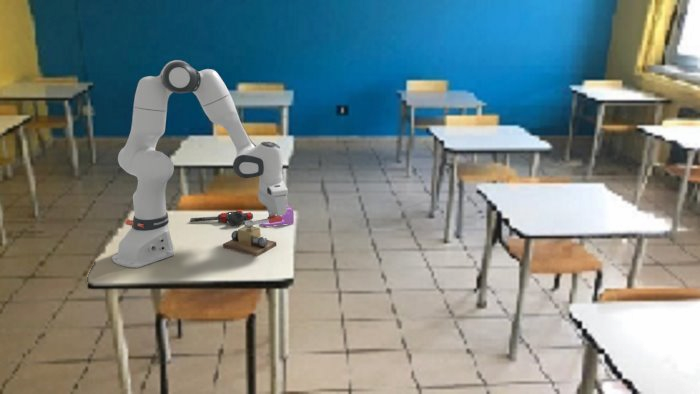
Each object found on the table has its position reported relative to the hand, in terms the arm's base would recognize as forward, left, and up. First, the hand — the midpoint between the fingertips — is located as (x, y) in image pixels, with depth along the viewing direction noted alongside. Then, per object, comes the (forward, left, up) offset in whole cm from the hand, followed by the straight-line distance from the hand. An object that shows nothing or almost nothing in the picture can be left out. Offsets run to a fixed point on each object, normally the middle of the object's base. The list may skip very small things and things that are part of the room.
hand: (272, 219), depth 233 cm
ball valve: (-10, +3, -7) cm, 13 cm away
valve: (+6, +31, -9) cm, 33 cm away
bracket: (+15, +9, -9) cm, 20 cm away
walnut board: (-10, +3, -9) cm, 14 cm away
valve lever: (-5, 0, 0) cm, 5 cm away
